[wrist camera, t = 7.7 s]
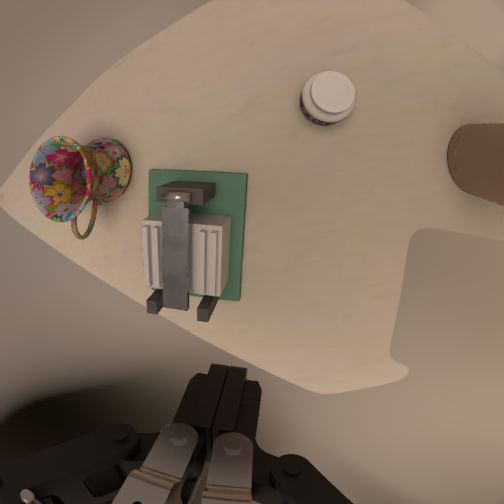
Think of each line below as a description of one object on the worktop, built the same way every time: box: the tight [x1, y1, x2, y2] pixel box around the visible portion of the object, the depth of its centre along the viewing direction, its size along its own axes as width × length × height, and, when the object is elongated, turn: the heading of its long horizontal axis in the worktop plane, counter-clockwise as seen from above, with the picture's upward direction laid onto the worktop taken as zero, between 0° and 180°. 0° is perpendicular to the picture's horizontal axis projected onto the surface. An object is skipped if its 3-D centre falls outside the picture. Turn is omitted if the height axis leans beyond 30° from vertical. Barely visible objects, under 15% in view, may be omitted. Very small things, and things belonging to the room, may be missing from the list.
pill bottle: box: [300, 71, 355, 126], centre depth 29 cm, size 5×5×9 cm
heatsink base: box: [142, 169, 248, 322], centre depth 36 cm, size 12×16×8 cm
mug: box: [30, 136, 130, 239], centre depth 34 cm, size 12×9×11 cm
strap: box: [161, 191, 191, 311], centre depth 32 cm, size 3×12×1 cm, turn 176°
